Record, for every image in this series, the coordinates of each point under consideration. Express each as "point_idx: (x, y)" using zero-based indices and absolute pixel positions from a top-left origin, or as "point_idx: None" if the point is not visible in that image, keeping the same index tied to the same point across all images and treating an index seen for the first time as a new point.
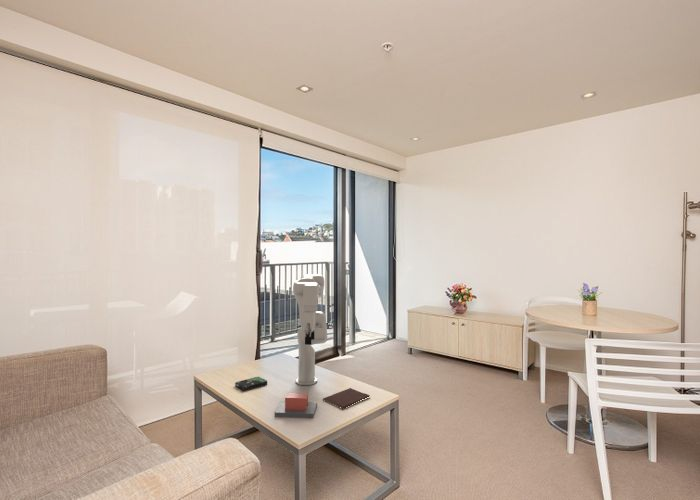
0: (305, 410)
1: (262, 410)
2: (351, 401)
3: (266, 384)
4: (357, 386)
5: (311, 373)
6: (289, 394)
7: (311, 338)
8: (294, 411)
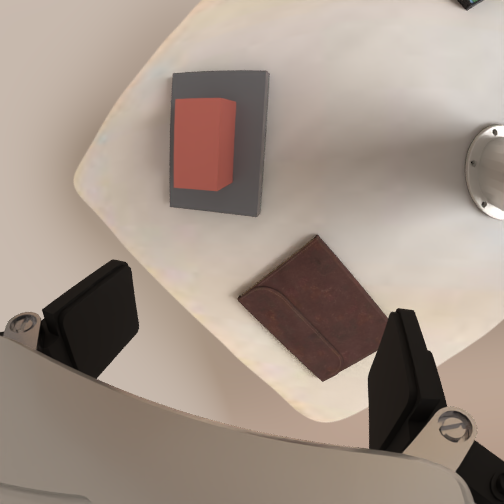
0: None
1: (225, 21)
2: (277, 330)
3: (464, 7)
4: None
5: (500, 202)
6: (207, 109)
7: (378, 358)
8: None
